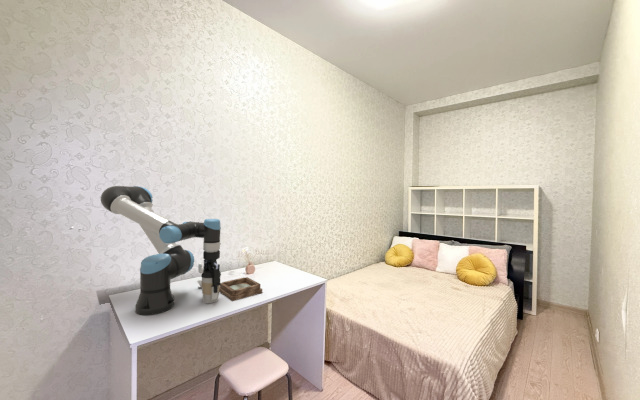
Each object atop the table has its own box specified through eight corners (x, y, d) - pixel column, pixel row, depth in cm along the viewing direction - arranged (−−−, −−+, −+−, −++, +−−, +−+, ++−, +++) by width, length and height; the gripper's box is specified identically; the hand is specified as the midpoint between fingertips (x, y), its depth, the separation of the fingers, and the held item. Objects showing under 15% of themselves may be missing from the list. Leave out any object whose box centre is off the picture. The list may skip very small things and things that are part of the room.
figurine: (217, 286, 148) (218, 260, 148) (202, 291, 141) (202, 263, 140) (210, 283, 152) (211, 257, 152) (194, 287, 145) (195, 261, 144)
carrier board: (232, 301, 129) (232, 292, 129) (218, 291, 141) (218, 282, 141) (262, 292, 141) (262, 284, 141) (246, 284, 153) (246, 276, 153)
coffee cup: (224, 299, 131) (225, 269, 130) (208, 305, 123) (208, 274, 123) (212, 295, 136) (213, 266, 135) (196, 301, 128) (197, 270, 127)
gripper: (228, 253, 124) (227, 300, 124) (210, 245, 139) (210, 288, 140) (212, 255, 118) (211, 305, 119) (196, 247, 134) (195, 291, 134)
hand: (210, 295), depth 129 cm, fingers closed on coffee cup, 9 cm apart
